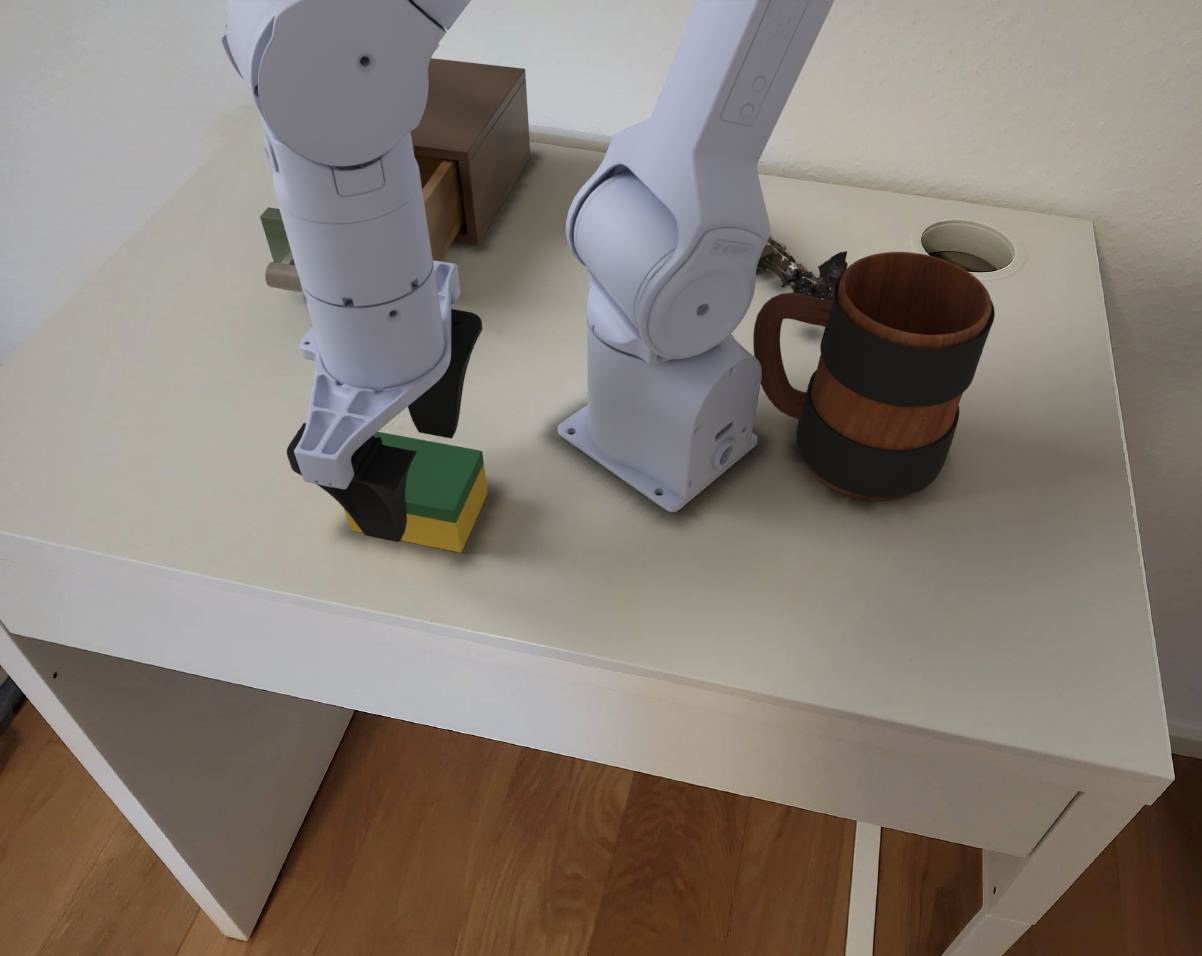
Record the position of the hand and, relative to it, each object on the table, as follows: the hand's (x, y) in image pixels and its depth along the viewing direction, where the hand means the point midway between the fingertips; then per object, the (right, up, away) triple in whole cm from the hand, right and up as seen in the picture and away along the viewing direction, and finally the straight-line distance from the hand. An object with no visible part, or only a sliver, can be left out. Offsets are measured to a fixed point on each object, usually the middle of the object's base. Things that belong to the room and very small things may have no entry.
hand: (412, 480), depth 50 cm
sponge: (0, -2, +2) cm, 3 cm away
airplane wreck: (+21, +15, +17) cm, 31 cm away
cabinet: (-3, +23, +25) cm, 34 cm away
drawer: (-6, +15, +16) cm, 23 cm away
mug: (+24, +2, +6) cm, 25 cm away
